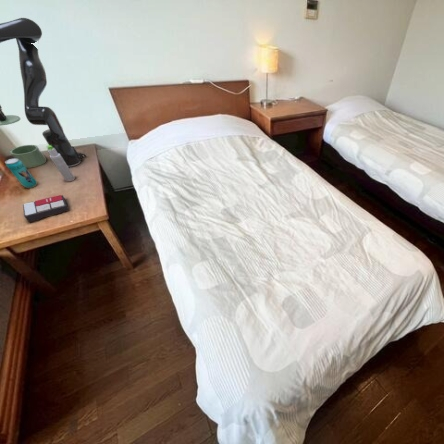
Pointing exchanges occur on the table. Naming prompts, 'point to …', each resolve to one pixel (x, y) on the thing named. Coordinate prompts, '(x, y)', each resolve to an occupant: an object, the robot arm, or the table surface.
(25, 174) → the beverage can
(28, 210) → the grey and red box
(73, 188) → the table surface
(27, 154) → the pot
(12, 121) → the lid
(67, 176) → the bottle
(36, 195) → the table surface
